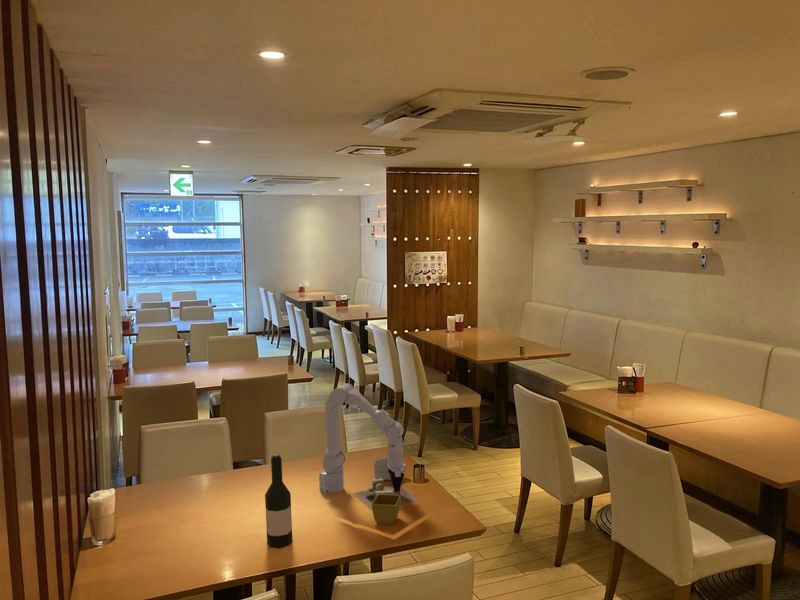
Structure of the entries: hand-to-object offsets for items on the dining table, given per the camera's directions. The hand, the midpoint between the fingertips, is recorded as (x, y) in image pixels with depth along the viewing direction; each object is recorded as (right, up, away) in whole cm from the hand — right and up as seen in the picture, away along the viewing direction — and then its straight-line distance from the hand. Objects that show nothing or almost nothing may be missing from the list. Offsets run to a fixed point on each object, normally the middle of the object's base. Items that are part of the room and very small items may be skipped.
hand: (396, 488), depth 236 cm
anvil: (-7, -2, +6) cm, 10 cm away
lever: (-5, -2, -1) cm, 5 cm away
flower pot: (-3, -6, -22) cm, 23 cm away
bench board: (-4, -4, -1) cm, 6 cm away
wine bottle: (-39, -8, -34) cm, 52 cm away
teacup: (-3, -3, +20) cm, 20 cm away
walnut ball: (-6, -3, +3) cm, 8 cm away
